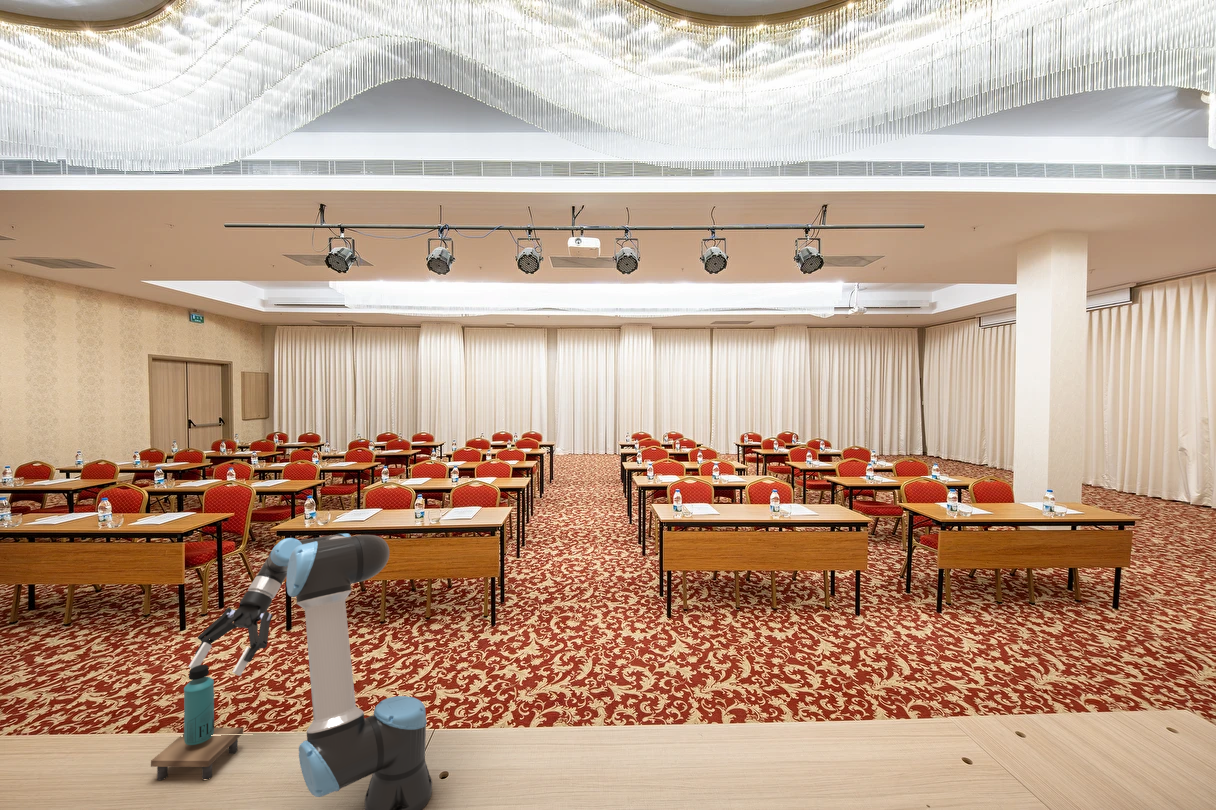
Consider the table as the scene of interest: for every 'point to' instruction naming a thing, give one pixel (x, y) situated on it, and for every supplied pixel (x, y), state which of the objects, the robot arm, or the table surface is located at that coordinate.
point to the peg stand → (196, 753)
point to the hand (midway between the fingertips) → (214, 671)
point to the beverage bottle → (198, 706)
